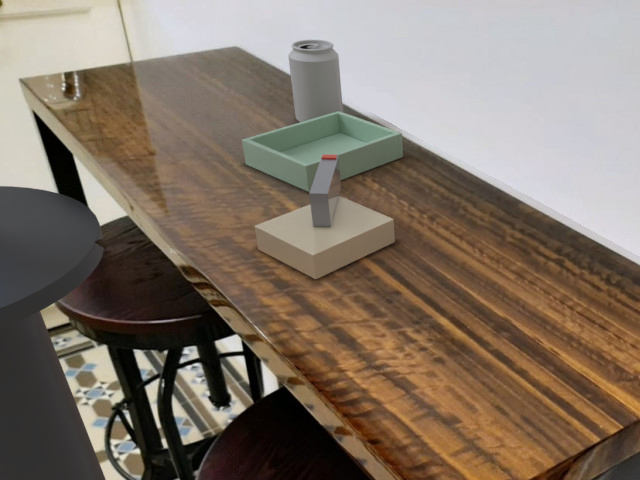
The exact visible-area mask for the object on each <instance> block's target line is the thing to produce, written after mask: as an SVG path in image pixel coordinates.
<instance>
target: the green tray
mask: <svg viewBox="0 0 640 480" xmlns="http://www.w3.org/2000/svg"><path fill="white" fill-rule="evenodd" d="M241 143H242V150H243V155H244V160H245V165H246V166H249V167H251V168H253V169H254V170H258V171H259V172H262V173H263V174H264V173H265V174H266V175H269V176H271V177H273V178H276V179H279V180H280V181H282V182H285V183H287V184H289V185H292V186H293V187H296V188H299V189H301V190H303V191H305V192H307V193H310V190H311V187H312V184H313V181H314V178H315V175H316V172H317V169H318V166H319V163H320V160H321V157H322V155H337V156H338V157H339V168H340V179H341V181H343V180H346V179H348V178H350V177H354V176H356V175H359V174H361V173H364V172H367V171H370V170H372V169H375V168H377V167H381V166H383V165H385V164H388V163H390V162H393V161H397V160H399V159H402V158H403V157H404V149H403V146H404V145H403V133H402V132H400V131H397V130H395V129H391V128H389V127H386V126H383V125H381V124H377V123H374V122H371V121H368V120H366V119H363V118H360V117H357V116H354V115H352V114H349V113H346V112H344V111H343V112H340V111H337V112H334V113H330V114H327V115H323V116H320V117H317V118H313V119H310V120H307V121H303V122H296V123H294V124H290V125H287V126H284V127H280V128H276V129H273V130H269V131H266V132H263V133H259V134H256V135H252V136H250V137H249V136H248V137H247V138H242V139H241Z"/></svg>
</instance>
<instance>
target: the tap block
mask: <svg viewBox="0 0 640 480" xmlns="http://www.w3.org/2000/svg"><path fill="white" fill-rule="evenodd" d="M253 227H254V232H255V238H256V244H257V249H258V251H260V252H262V253H264V254H266V255H267V256H269V257H272V258H274V259H276V260H277V261H279V262H281V263H284V264H286V265H287V266H289V267H290V268H292V269H295V270H297V271H299V272H300V273H302V274H304V275H306V276H308V277H309V278H312V279H314V280H318V279H320V278H323V277H324V276H326V275H329V274H330V273H333V272H335V271H337V270H339V269H341V268H343V267H345V266H347V265H349V264H352V263H354V262H356V261H358V260H359V259H362V258H364V257H366V256H369V255H370V254H373V253H375V252H377V251H379V250H381V249H383V248H385V247H388V246H390V245H392V244H394V243H395V242H396V237H395V219H394V218H392V217H390V216H388V215H385V214H383V213H381V212H379V211H376V210H374V209H371V208H369V207H366V206H364V205H362V204H359V203H357V202H355V201H353V200H350V199H348V198H346V197H344V196H341V195H339V198H338V201H337V205H336V209H335V213H334V217H333V221H332V225H331V227H313V221H312V213H311V204H306V205H305V206H302V207H299V208H297V209H294V210H291V211H289V212H287V213H283V214H281V215H278V216H277V217H274V218H270V219H268V220H266V221H263V222H260V223H258V224H255V225H254V226H253Z"/></svg>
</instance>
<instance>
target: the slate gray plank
mask: <svg viewBox="0 0 640 480" xmlns="http://www.w3.org/2000/svg"><path fill="white" fill-rule="evenodd" d="M341 189H342V180H341V179H340V168H339V157H338V156H337V155H322V157H321V160H320V163H319V166H318V169H317V172H316V175H315V178H314V181H313V184H312V187H311V190H310V192H308V193H309V195H308V196H309V203H310V204H311V213H312V221H313V227H331V225H332V221H333V217H334V213H335V209H336V205H337V201H338V198H339V196H340V193H341ZM310 204H309V205H310Z"/></svg>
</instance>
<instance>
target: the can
mask: <svg viewBox="0 0 640 480" xmlns="http://www.w3.org/2000/svg"><path fill="white" fill-rule="evenodd" d="M291 48H292V49H291V50H290V52H289V53H288V56H287V57H288V66H289V73H290V81H291V90H292V98H293V107H294V114H295V119H296V120H297V121H298V123H300V122H303V121H307V120H310V119H313V118H317V117H320V116H323V115H327V114H330V113H334V112H337V111H340V112H343V113H344V106H343V93H342V82H341V71H340V59H339V58H340V57H339V53H338V52H337V51H336V50H335V49H334V44H333V43H332V42H331V41H328V40H324V39H302V40H297V41H294V42H292V43H291Z"/></svg>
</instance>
